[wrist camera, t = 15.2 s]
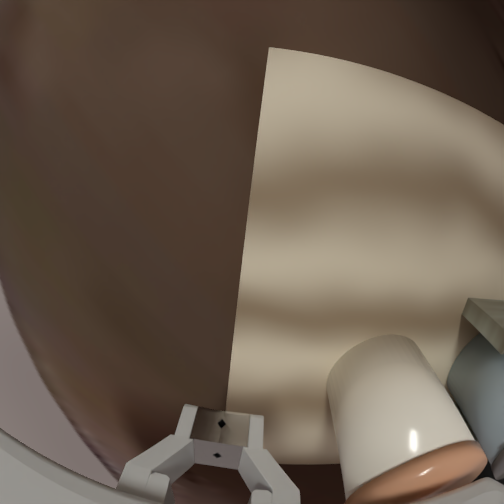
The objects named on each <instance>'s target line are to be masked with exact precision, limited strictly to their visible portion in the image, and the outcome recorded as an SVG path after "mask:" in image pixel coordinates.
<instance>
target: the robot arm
mask: <svg viewBox="0 0 504 504" xmlns="http://www.w3.org/2000/svg"><path fill="white" fill-rule="evenodd" d="M263 435H264V416H262V415H253V414H246V413H237V412H229V411H220V410H214V409H209V408H204V407H199V406H194V405H189V404H185V405H184V407H183V410H182V413H181V416H180V419H179V422H178V425H177V429H176V432H175V435H169V436H168V437H166V438H165V439H163V440H162V441H160V442H159V443H157V444H156V445H154V446H152V447H151V448H149V449H148V450H146V451H145V452H143V453H142V454H140V455H138V456H137V457H135V458H133V459H132V460H130V461H129V462H127V463H126V465H125V468H124V470H123V473H122V475H121V477H120V480H119V482H118V485H117V487H116V489H115V488H112V487H109V486H107V485H104V484H101V483H99V482H97V481H94V480H92V479H90V478H87V477H85V476H83V475H80V474H78V473H76V472H74V471H72V470H70V469H68V468H66V467H64V466H62V465H60V464H58V463H56V462H54V461H52V460H50V459H49V458H47V457H45V456H43V455H41V454H40V453H38V452H36V451H35V450H33V449H31V448H30V447H28V446H26V445H25V444H23V443H22V442H20V441H18V440H17V439H16V438H14V437H12V436H11V435H10V434H8V433H6V432H5V431H4V430H2V429H1V428H0V504H175V499H174V495H173V491H172V486H171V484H172V483H173V482H174V481H176V480H177V479H178V478H179V477H180V476H181V475H182V474H184V473H185V472H186V471H187V470H188V469H189V468H190V467H191V466H193V465H194V463H198V464H204V465H211V466H218V467H224V468H230V469H237V470H238V471H239V473H240V475H241V476H242V478H243V480H244V482H245V483H246V485H247V487H248V488H249V490H250V492H251V496H250V499H249V501H248V504H300V490H299V489H298V488H297V487H296V486H295V484H294V483H293V482H292V481H291V479H290V478H289V477H288V476H287V474H286V473H285V472H284V471H283V469H282V468H281V467H280V466H279V464H278V463H277V462H276V461H275V459H274V458H273V457H272V455H271V454H270V453H269V451H268V450H267V449H263ZM411 504H504V485H503V484H501V483H499V482H498V481H496V480H494V479H492V478H490V477H485V478H482V479H479V480H477V481H475V482H472V483H470V484H467V485H465V486H463V487H460V488H457V489H455V490H452V491H449V492H447V493H444V494H441V495H438V496H435V497H432V498H428V499H425V500H422V501H418V502H414V503H411Z"/></svg>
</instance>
